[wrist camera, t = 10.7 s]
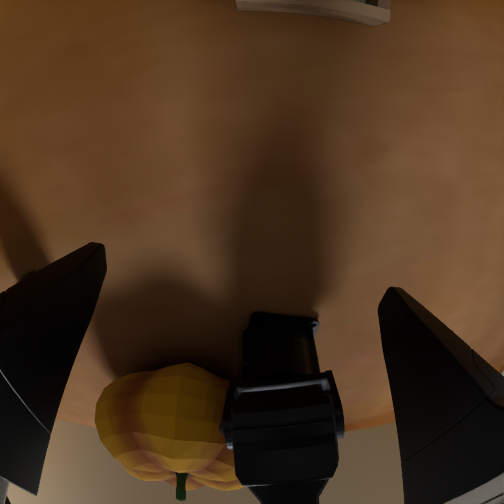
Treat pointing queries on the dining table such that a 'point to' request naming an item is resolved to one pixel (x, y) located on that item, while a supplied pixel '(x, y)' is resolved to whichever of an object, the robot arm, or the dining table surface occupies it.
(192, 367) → the decorative pumpkin
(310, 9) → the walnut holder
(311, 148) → the dining table surface
